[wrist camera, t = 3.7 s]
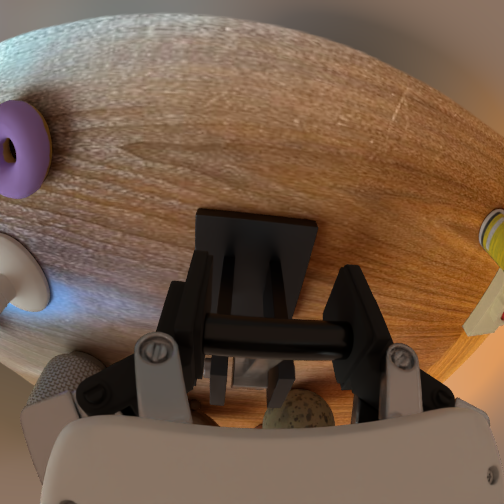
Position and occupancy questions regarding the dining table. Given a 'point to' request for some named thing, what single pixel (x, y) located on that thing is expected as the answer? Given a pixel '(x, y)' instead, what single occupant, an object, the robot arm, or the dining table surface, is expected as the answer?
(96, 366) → the planter
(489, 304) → the power block
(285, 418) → the decorative egg
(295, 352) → the lever
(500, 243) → the supplement bottle
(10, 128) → the donut
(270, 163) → the dining table surface
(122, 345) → the dining table surface
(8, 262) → the candlestick
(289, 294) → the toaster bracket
